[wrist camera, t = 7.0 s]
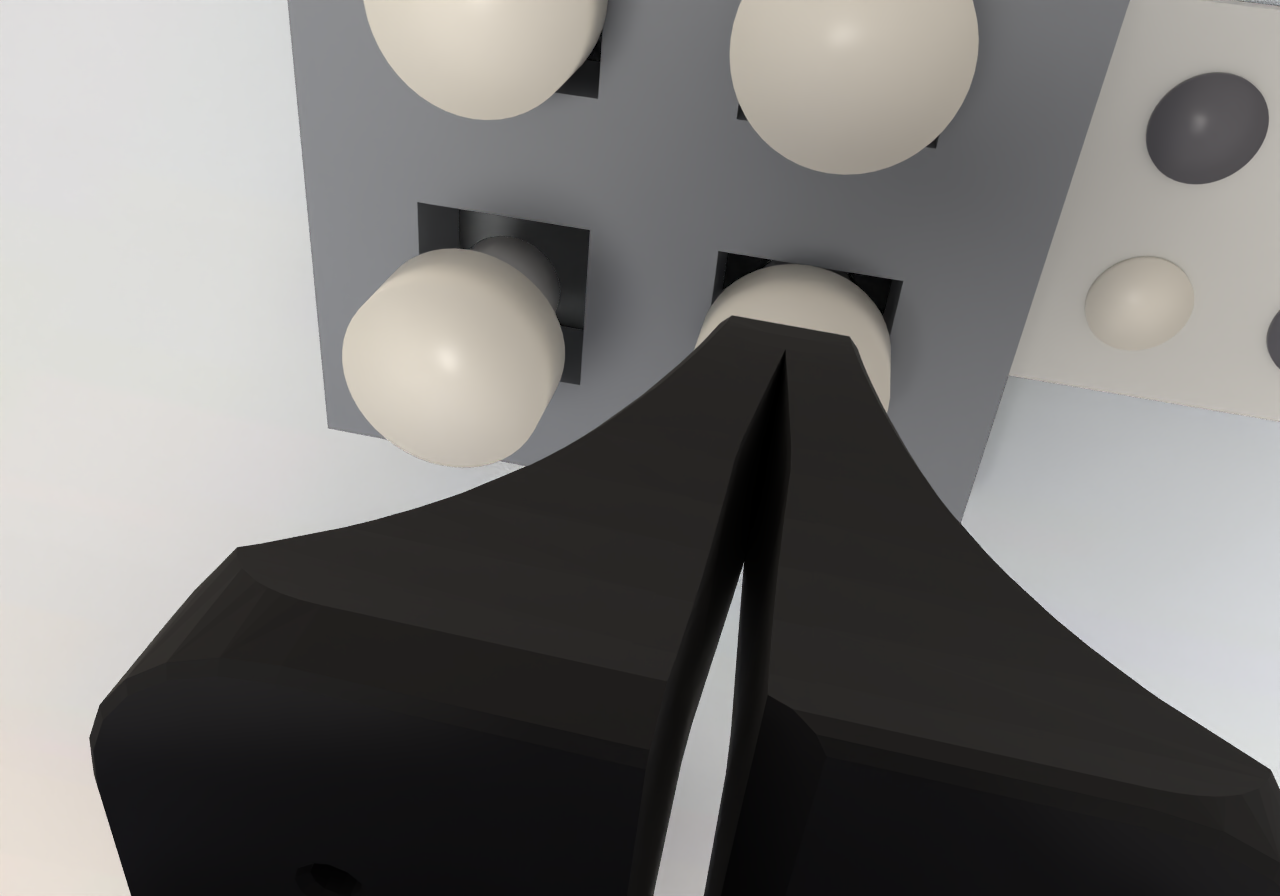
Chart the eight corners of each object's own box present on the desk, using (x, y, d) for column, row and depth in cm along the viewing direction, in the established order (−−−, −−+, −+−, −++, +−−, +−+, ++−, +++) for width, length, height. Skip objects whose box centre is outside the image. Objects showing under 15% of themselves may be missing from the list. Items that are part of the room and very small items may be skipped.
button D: (989, -98, 17) (1008, -62, 14) (937, 118, 19) (944, 191, 16) (774, -124, 17) (747, -95, 14) (744, 90, 19) (715, 156, 16)
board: (1170, -240, 15) (1206, -237, 14) (948, 483, 23) (952, 546, 21) (324, -326, 17) (255, -334, 15) (370, 377, 24) (328, 428, 23)
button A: (602, 215, 19) (546, 303, 16) (591, 378, 21) (539, 484, 18) (421, 186, 20) (334, 267, 17) (427, 348, 22) (349, 447, 19)
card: (1594, 46, 16) (1614, 55, 16) (1377, 428, 20) (1387, 444, 20) (1121, -14, 17) (1127, -8, 17) (1001, 364, 21) (1003, 378, 21)
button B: (909, 230, 20) (911, 318, 17) (871, 387, 22) (867, 491, 19) (729, 202, 20) (698, 283, 17) (707, 358, 22) (676, 455, 19)
